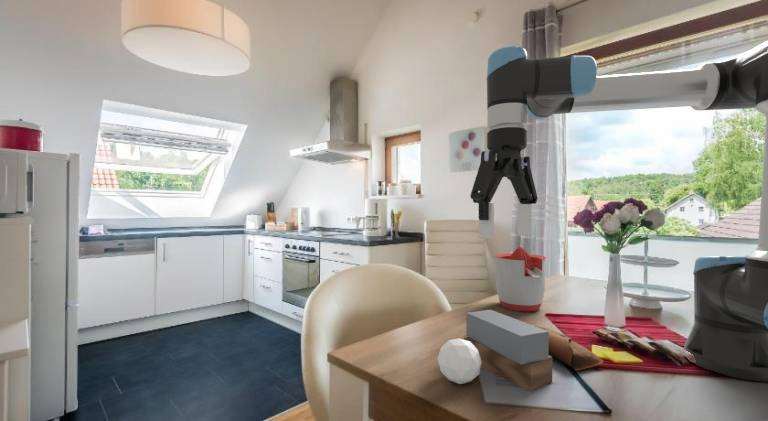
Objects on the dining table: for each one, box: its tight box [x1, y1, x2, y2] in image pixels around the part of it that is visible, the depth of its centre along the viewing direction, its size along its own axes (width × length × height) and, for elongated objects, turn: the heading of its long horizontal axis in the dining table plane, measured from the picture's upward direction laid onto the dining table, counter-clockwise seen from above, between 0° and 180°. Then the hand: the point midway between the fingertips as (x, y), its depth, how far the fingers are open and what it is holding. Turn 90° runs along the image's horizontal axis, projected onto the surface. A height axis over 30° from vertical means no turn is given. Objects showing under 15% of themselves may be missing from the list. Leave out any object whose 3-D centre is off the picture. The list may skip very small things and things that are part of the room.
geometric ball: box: [437, 337, 482, 385], centre depth 67 cm, size 8×8×8 cm
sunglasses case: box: [534, 325, 605, 372], centre depth 81 cm, size 18×7×7 cm
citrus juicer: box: [494, 246, 547, 312], centre depth 118 cm, size 16×17×20 cm
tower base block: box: [463, 336, 553, 392], centre depth 72 cm, size 16×6×5 cm, turn 34°
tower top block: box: [465, 309, 549, 364], centre depth 73 cm, size 16×6×5 cm, turn 23°
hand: (506, 236), depth 72 cm, fingers open, 13 cm apart
